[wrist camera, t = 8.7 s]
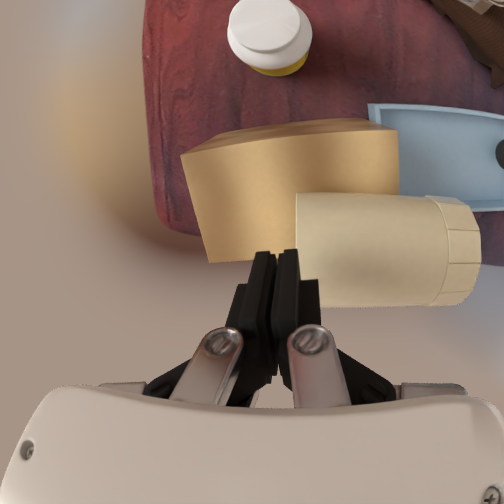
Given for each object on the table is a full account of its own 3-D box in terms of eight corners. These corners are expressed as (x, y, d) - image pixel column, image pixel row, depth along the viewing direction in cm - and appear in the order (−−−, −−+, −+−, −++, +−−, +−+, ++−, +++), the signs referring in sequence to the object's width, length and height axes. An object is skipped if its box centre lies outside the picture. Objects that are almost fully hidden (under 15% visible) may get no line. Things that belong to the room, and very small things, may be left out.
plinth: (237, 207, 33) (209, 263, 23) (221, 133, 29) (179, 155, 19) (365, 195, 30) (396, 248, 20) (359, 117, 26) (397, 130, 15)
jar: (293, 331, 16) (460, 324, 14) (295, 212, 13) (491, 221, 11) (296, 271, 22) (425, 271, 20) (295, 180, 19) (440, 187, 17)
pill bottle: (304, 81, 25) (310, 70, 15) (242, 74, 25) (210, 61, 15) (311, 27, 21) (319, -12, 11) (248, 20, 22) (220, -18, 12)
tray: (373, 207, 30) (379, 217, 28) (367, 103, 25) (374, 104, 22) (512, 201, 26) (524, 210, 23) (517, 118, 20) (530, 122, 17)
